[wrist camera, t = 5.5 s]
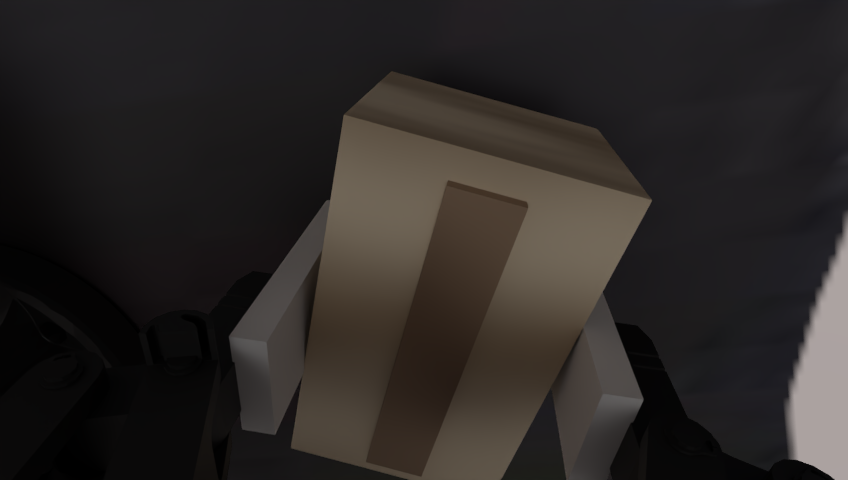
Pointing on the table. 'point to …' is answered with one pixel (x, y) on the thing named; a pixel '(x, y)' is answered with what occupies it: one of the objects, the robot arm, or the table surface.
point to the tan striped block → (454, 277)
